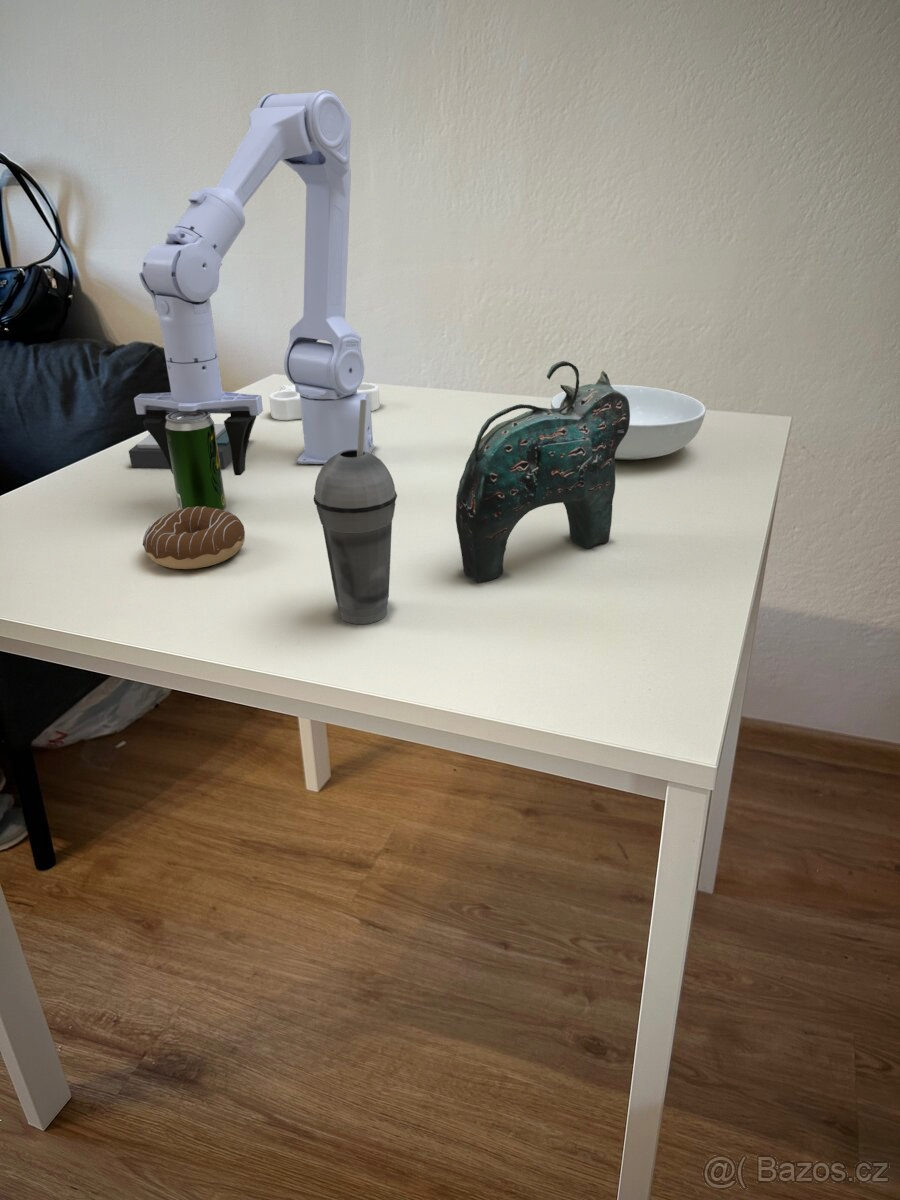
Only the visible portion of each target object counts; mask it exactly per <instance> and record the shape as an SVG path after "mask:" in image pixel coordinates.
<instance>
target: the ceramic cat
mask: <svg viewBox="0 0 900 1200" xmlns="http://www.w3.org/2000/svg"><path fill="white" fill-rule="evenodd" d="M562 367H570V368H571V369H572V370H573V372H574V374H575V375H574V376H575V387H573V386H570V385H566V384H559V386H560V389H562V391H563V392H564V391H565V393H566V396H565V398H564V399H563V400H562V402H561V405H560V408H554V409H551V408H549V407H548V408H547V407H539V406H535V405H531V404H521V403H520V404H519V403H518V404H515V405H512V406H509V407H507V408H504V409H502V410H500V411H498V412H496V413H495V414H493V415H492V416H490V417H489V418H487V419H486V421H485V422H484V424H483V425H482V426H481V428H480V430H479V432H478V435H477V437H476V440H475V444H474V448H473V449H472V450H471V453H469V454H470V455H469V457H468V459H467V461H466V463H465V466H464V470H463V473H462V475H461V477H460V480H459V484H458V488H457V492H456V497H455V498H456V499H455V526H456V531H457V535H458V542H459V548H460V554H461V561H462V568H463V569H462V570H463V573H464V575H465V576H467V577H469V578H471V579H473V580H474V581H475V582H477V583H479V584H480V583H484V582H488V581H492V580H495V579H498V578H499V577H501V576H502V575H503V573H504V558H505V553H506V550H507V544H508V540H509V537H510V535H511V533H512V532H513V530H514V529H515V527H516V525H517V524H518V523H519V522H520V520H522V518H523V517H524V516H526V515H527V514H528V513H530V512H531V511H533V510H536V509H538V508H541V507H544V506H548V505H555V504H563V506H564V508H565V511H566V515H567V521H568V529H569V530H568V531H569V538H570V540H571V541H572V542H574V543H575V544H577V545H579V546H581V547H584V548H586V549H587V550H589V549H591V548H593V547H595V546H597V545H600V544H605V543H608V542H609V541H610V537H611V527H612V521H613V520H612V519H613V501H614V497H615V493H616V459H615V452H616V450H617V447H618V446H619V444H620V442H621V441H622V439H623V438H624V437H625V435H626V433H627V431H628V428H629V423H630V407H629V401H628V399H627V397H626V396H625V395H623V394H622V393H620V392H618V391H616V390H614V389H613V388H612V386H611V385H612V384H611V382H610V379H609V376H608V374H607V373H606V371H604V370H602V371H601V372H600V375H599V379H597V381H596V382H595V383H589V384H584V385H580V373H579V369H578V368H577V365H575V364H573V363H572V362H569V361H566V360H561V361H558V362H556V363H555V364H552V365H551V367H550V368H549V369H548V371H547V375H546V378H547V379H548V380H549V381H550V379H551V378H552V376H553V375H554V374H555V372H556V371H557V370H559V369H560V368H562ZM521 409H527V410H528V411H526V412H524V413H521V414H519V415H517V416H515V417H513V418H510V419H507V420H504V421H502V422H500V423H498V424H496V425H495V426H493V427H492V428H491V429H490V430H489V431H488V429H489V428H490V426H491V424H492V423H494V421H495V420H497V419H499V418H501V417H503V416H505V415H507V414H509V413H511V412H513V411H516V410H521ZM487 431H488V432H487ZM486 432H487V433H486ZM485 433H486V434H485Z"/></svg>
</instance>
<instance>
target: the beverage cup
mask: <svg viewBox="0 0 900 1200" xmlns="http://www.w3.org/2000/svg"><path fill="white" fill-rule="evenodd" d="M365 417H366V400H364V399H362V400H360V414H359V431H358V447H357V450H346V451H343V452H340V453H337V454H336V455H334V456H333V457H331V458H330V459H329V460H328V461H327V462H326V463H325V464H323V465H322V467H321V469H320V470H319V472H318V474H317V477H316V480H315V485H314V495H313V502H314V505H315V507H316V510H317V514H318V518H319V521H320V525H322V530H323V536H324V541H325V542H324V543H325V549H326V554H327V558H328V564H329V569H330V577H331V581H332V586H333V591H334V597H335V602H336V604H337V608H338V615H339V618H340V619H341V620H342V621H343V622H347V623H348V624H353V625H354V624H355V625H368V624H373V623H376V622H379V621H380V620H383V619H384V618H386V616H387V614H388V604H389V598H390V597H389V596H390V580H391V579H390V577H391V555H392V554H391V553H392V531H393V530H392V529H393V519H394V517H395V516H394V515H395V510H396V500H397V498H398V494H397V491H396V486H395V482H394V478H393V477H392V474H391V473H390V471H389V469H388V467H387V466H386V464H385V462H383V461H382V460H381V459H380V458H379V457H377V456H376V455H375V454H372V452H371V453H369V452H366V451H363V450H364V434H365Z"/></svg>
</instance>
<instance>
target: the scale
mask: <svg viewBox="0 0 900 1200" xmlns="http://www.w3.org/2000/svg"><path fill="white" fill-rule="evenodd" d="M214 426H215V433H216V439H217V446H218V453H219V460H220V467H221V470H224V469H226V468H227V467H228V466H229V464H230V463H232V452H231V446H230V442H229V438H228V434H227V431H226V428H225V425H224V423H214ZM249 442H250V440H249V441H248V443H249ZM128 455H129V460H130V465H131V468H132V469H133V468H137V469H138V468H140V469H142V468H143V469H144V468H145V469H170V466H169V464H168V462H167V460H166V458H165V456H164V454H163V452H162V450H161V448H160V447H159V445H158V443H157V442H156V441H155V439H154V438H153V437H152V435H151V434H150V433H149V434H148V435H147V436H146V437H144V438H143V439H141V440H140V441H139V442H138V443H137V444H135V445H134V446H133V447H132V448H130V449H129V450H128Z"/></svg>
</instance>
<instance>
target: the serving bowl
mask: <svg viewBox="0 0 900 1200" xmlns="http://www.w3.org/2000/svg"><path fill="white" fill-rule="evenodd" d="M610 385H611V386H612V388H613V389H614V390H616V391H618V392H620V393H622V394H623V395H625V396H626V397H627V399H628V401H629V407H630V423H629V428H628V431H627V433H626V435H625V437H624V438H623V439H622V441H621V442H620V444H619V446H618V447H617V450H616V452H615V461H640V460H644V459H653V458H658V457H663V456H667V455H670V454H673V453H675V452H677V451H679V450H681V449H682V448H684V447H686V446H687V445H688V444H689V443H691V441H693V439H694V438H696V436H697V435H698V433H699V431H700V429H701V427H702V425H703V423H704V419H705V416H706V412H707V409H706V406H705V405H704V404H703V402H702V401H700V400H698V399H696V398H694V397H692V396H690V395H687V394H684V393H681V392H676V391H673V390H670V389H665V388H664V389H663V388H658V387H651V386H643V385H642V386H641V385H632V384H631V385H630V384H610ZM565 396H566V393H565V391H564V390H563V391H562V392H559V393H557V394H556V395H554V396H553V397H552V399H550V409H554V408H560V405H561V402H562V400H563V399H564V398H565Z"/></svg>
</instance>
